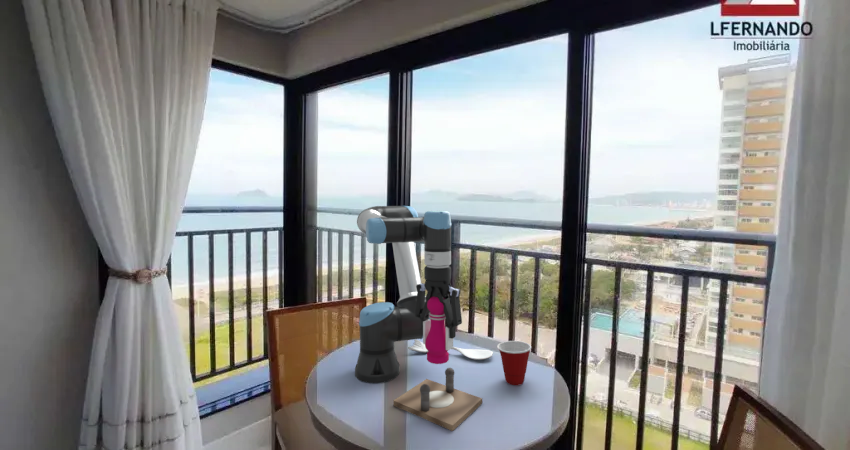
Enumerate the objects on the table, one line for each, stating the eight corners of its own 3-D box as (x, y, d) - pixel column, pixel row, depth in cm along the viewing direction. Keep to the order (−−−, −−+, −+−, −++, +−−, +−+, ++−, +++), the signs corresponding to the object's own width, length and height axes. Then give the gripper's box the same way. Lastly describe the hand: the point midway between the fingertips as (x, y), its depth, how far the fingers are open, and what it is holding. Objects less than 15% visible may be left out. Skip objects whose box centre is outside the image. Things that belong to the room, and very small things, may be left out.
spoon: (414, 346, 148) (414, 338, 148) (494, 355, 139) (494, 346, 139) (407, 355, 139) (407, 346, 139) (491, 365, 130) (491, 355, 130)
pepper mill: (448, 366, 99) (448, 293, 98) (422, 363, 100) (422, 292, 99) (452, 355, 106) (452, 287, 105) (427, 353, 107) (427, 286, 106)
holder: (393, 405, 104) (393, 376, 103) (426, 383, 116) (426, 357, 116) (452, 431, 92) (452, 398, 91) (482, 403, 104) (482, 375, 104)
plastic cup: (506, 370, 125) (506, 336, 125) (536, 379, 118) (536, 344, 118) (490, 382, 117) (490, 346, 116) (522, 393, 110) (522, 354, 109)
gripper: (401, 264, 105) (402, 341, 106) (461, 271, 93) (461, 358, 94) (417, 261, 111) (418, 334, 112) (475, 267, 99) (475, 349, 100)
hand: (437, 345), depth 103 cm, fingers closed on pepper mill, 7 cm apart
